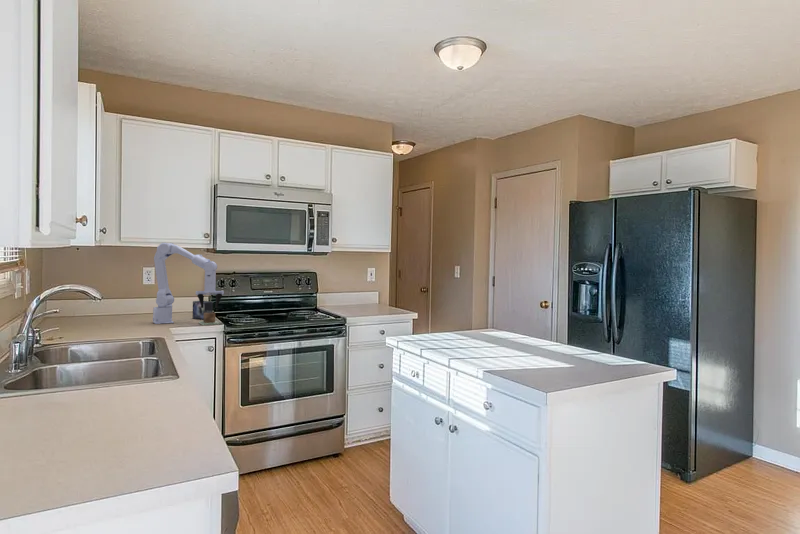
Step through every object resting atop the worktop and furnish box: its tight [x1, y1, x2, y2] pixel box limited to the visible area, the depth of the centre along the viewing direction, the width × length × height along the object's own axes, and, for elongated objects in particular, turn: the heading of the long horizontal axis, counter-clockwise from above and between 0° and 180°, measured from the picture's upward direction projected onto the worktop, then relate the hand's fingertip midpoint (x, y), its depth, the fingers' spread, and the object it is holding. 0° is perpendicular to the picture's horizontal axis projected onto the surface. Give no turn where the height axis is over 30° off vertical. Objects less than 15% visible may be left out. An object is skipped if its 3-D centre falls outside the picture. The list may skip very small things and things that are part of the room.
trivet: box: [198, 320, 221, 326], centre depth 270 cm, size 9×9×1 cm
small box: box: [192, 300, 214, 321], centre depth 289 cm, size 11×6×10 cm, turn 62°
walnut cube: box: [202, 312, 216, 323], centre depth 270 cm, size 5×5×5 cm
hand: (209, 307), depth 270 cm, fingers open, 7 cm apart
